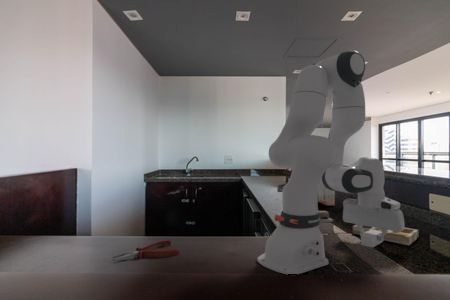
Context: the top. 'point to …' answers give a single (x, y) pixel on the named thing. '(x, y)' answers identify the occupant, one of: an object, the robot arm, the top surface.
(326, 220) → the packaged product
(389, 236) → the rack
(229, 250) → the top surface
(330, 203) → the cracker box
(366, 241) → the white rectangular block
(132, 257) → the pliers
